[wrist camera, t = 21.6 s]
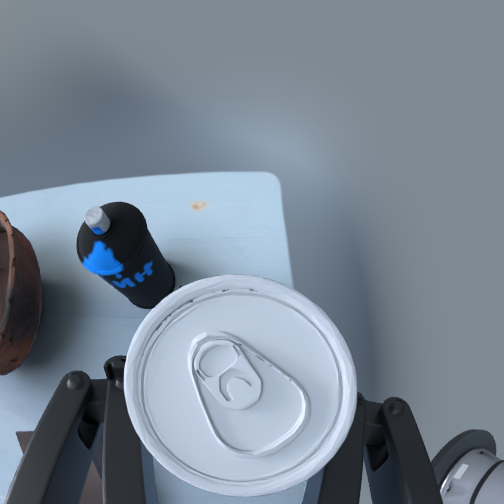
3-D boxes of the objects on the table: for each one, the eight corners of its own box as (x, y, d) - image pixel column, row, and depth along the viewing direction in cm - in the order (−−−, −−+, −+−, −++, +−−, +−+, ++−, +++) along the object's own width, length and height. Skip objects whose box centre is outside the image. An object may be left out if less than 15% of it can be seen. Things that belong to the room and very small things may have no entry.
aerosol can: (125, 258, 42) (66, 184, 23) (175, 255, 43) (139, 173, 24) (123, 309, 39) (50, 261, 20) (176, 308, 39) (131, 255, 21)
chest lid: (18, 431, 22) (15, 431, 21) (83, 427, 24) (80, 427, 23) (65, 529, 16) (62, 531, 15) (136, 534, 18) (135, 537, 17)
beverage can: (261, 420, 18) (321, 517, 4) (187, 396, 18) (92, 449, 5) (283, 350, 20) (385, 308, 6) (211, 327, 20) (168, 240, 7)
